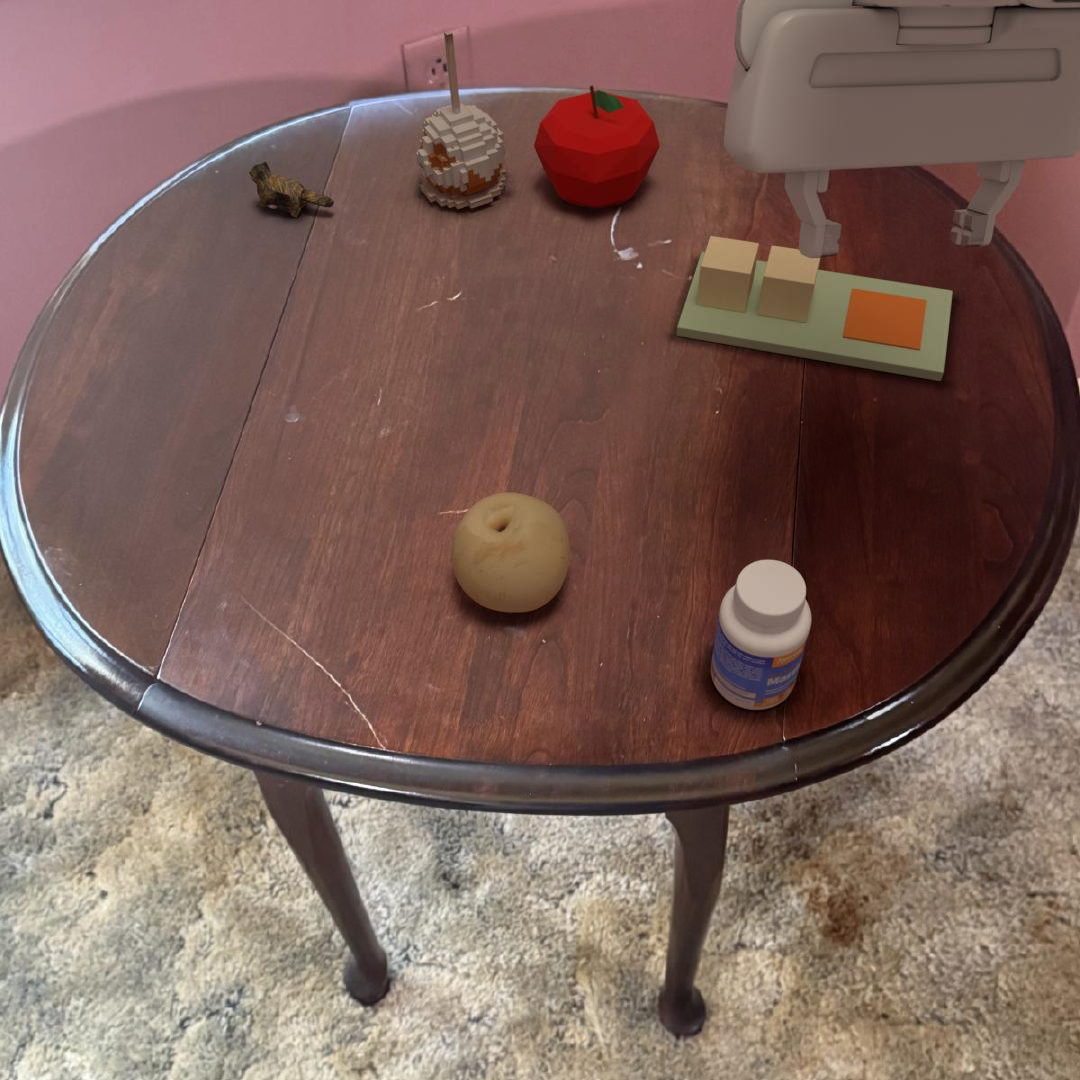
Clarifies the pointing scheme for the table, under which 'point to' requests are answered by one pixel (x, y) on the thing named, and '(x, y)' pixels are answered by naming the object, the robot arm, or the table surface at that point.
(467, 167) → the caramel apple
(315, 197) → the cat figurine
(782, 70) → the robot arm
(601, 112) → the apple
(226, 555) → the table surface
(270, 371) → the table surface
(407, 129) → the table surface
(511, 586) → the apple
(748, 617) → the pill bottle
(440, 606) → the table surface
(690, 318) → the word mat
